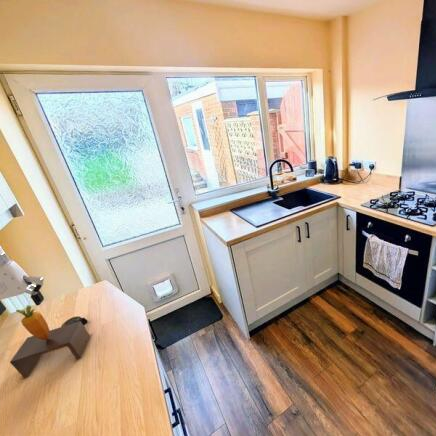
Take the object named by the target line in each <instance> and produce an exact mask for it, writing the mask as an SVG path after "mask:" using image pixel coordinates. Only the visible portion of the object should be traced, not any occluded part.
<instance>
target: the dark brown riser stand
mask: <svg viewBox="0 0 436 436" xmlns="http://www.w3.org/2000/svg"><path fill="white" fill-rule="evenodd" d="M49 331H50V336H49V339H48V340H41V339H38V338H36V337H35V336H33V335H31V336H27V338H26V339H25V340H24V341H23V342H22V345H20V347H19V349H17V351H16V353H15V354H14V355H13V357H12V358H11V359H10V361H9V363H10V365H12V366H13V367H14V369H15V370H16V371H17V372H18V373H19V375H21V376H22V377H23V378H24V379H25V378H27V377H29V376H30V374H31V373H32V371H33V369H34V368H35V366H36V364H38V361H39V359H40V358H41V356H42V355H45V354H47V353H48V354H49V353H51V352H53V351H57V350H60V349H62V348H67V347H68V350H70V352H71V353H72V355H73V356H74V357H75V359H76V360H79V359H82V356H83V354H84V351H85V349H86V347H87V345H88V342H89V341H90V338H91V335H90V333H89V332H88V330H87V328H86V326H85V325H83V324H82V322H81V321H79V322H76V323H72V324H69V325H66V326H63V327H61V326H60V327H57V328H53V329H49Z"/></svg>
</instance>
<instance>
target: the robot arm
mask: <svg viewBox="0 0 436 436" xmlns="http://www.w3.org/2000/svg"><path fill="white" fill-rule="evenodd" d="M33 283H35V284H33ZM43 285H44V277H42V276H32V275H31V276H29V275H28V274H27V272H26V271H25V270H24V269H23V268H22V267H21V266H20V265H19V264H18V263H17V262H16V261H14V260H13V259H10V258H9V256H8V254H7V253H6V251H4V249H3V247H2V246H1V245H0V316H1V315H3V314H4V312H6V310H7V307H6V306H5V304H3V302H2V301H1V300H5V299H9V298H13V297H16V296H20V295H23V294H24V293H26V294H28V295H30V299H31V300H32V301H33V303H34V304H35V306H40V305H41V304H42V303H43V301H44V300H45V297H44V295H43V294H42V292H41V291H40V290H41V288H42V287H43Z"/></svg>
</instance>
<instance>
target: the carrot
mask: <svg viewBox="0 0 436 436" xmlns="http://www.w3.org/2000/svg"><path fill="white" fill-rule="evenodd" d="M15 312H16V313H19V314H20V315H22V316H24V317H22V318H21V320H20V322H21V324H22V327H24V328H25V329H26V331H27V332H28V333H29V334H30V335H31V336H35V337H36V338H38V339H41V340H48V339H49V336H50V328H49V325H48V323H47V321H46V319H45V318H44V316H43V315H42V312H40V311H35V308H33V309H32V306H31V305H30V304H28V305H26V307H25V309H22V310H21V309H16V310H15Z"/></svg>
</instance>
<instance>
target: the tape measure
mask: <svg viewBox="0 0 436 436" xmlns="http://www.w3.org/2000/svg"><path fill="white" fill-rule="evenodd" d="M79 321H81V322H82V324H83V325H84V326H85V325H86V324H87V323H88V319H87V318H85V317H81V316H72V317H70V318H68V319H67V320H65V321H64V322H63V323H62V324H61V326H60V327H63V326H66V325H69V324H72V323H76V322H79Z"/></svg>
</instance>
